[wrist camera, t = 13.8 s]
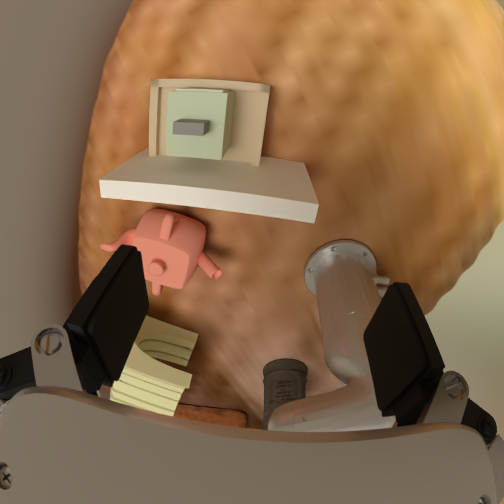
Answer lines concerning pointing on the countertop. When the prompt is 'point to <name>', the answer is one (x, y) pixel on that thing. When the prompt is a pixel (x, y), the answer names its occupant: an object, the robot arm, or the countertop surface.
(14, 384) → the robot arm
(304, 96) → the countertop surface
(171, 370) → the slatted curved stool
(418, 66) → the countertop surface
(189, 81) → the beige slab with panel
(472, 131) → the countertop surface
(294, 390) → the beer stein
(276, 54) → the countertop surface
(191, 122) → the cabinet box
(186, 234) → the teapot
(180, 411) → the bread
